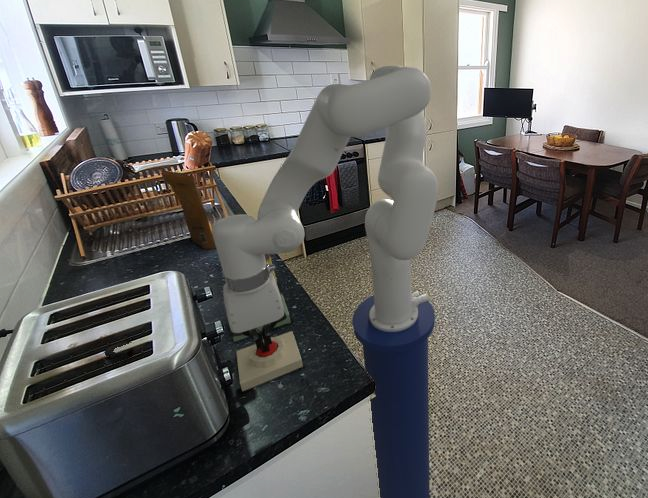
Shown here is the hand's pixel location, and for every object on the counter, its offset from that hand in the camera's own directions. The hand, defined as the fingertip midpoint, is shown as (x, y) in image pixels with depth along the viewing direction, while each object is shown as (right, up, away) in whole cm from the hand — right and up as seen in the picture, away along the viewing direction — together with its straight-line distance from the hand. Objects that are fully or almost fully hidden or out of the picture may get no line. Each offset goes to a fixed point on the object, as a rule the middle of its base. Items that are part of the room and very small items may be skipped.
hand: (265, 347), depth 75 cm
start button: (0, -2, +1) cm, 2 cm away
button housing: (0, -4, +2) cm, 4 cm away
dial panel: (-8, +1, +15) cm, 17 cm away
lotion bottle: (-14, -10, -12) cm, 21 cm away
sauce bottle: (-12, +6, +26) cm, 30 cm away
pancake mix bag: (-48, +17, +53) cm, 73 cm away
